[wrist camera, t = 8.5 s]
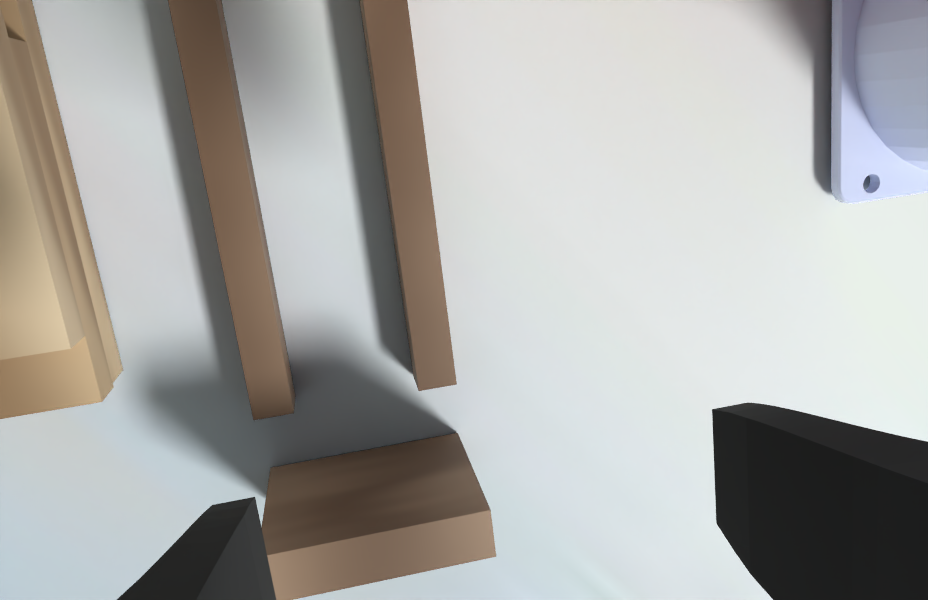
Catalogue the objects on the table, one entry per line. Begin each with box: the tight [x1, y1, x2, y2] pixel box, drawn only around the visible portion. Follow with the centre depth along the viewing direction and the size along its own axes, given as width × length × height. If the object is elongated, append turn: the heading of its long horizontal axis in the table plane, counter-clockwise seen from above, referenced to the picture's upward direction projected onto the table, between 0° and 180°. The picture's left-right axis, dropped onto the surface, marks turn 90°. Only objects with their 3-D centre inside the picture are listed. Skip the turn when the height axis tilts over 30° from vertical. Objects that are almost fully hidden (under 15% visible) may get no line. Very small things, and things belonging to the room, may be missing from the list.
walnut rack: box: [168, 0, 496, 600], centre depth 17 cm, size 5×18×4 cm, turn 7°
